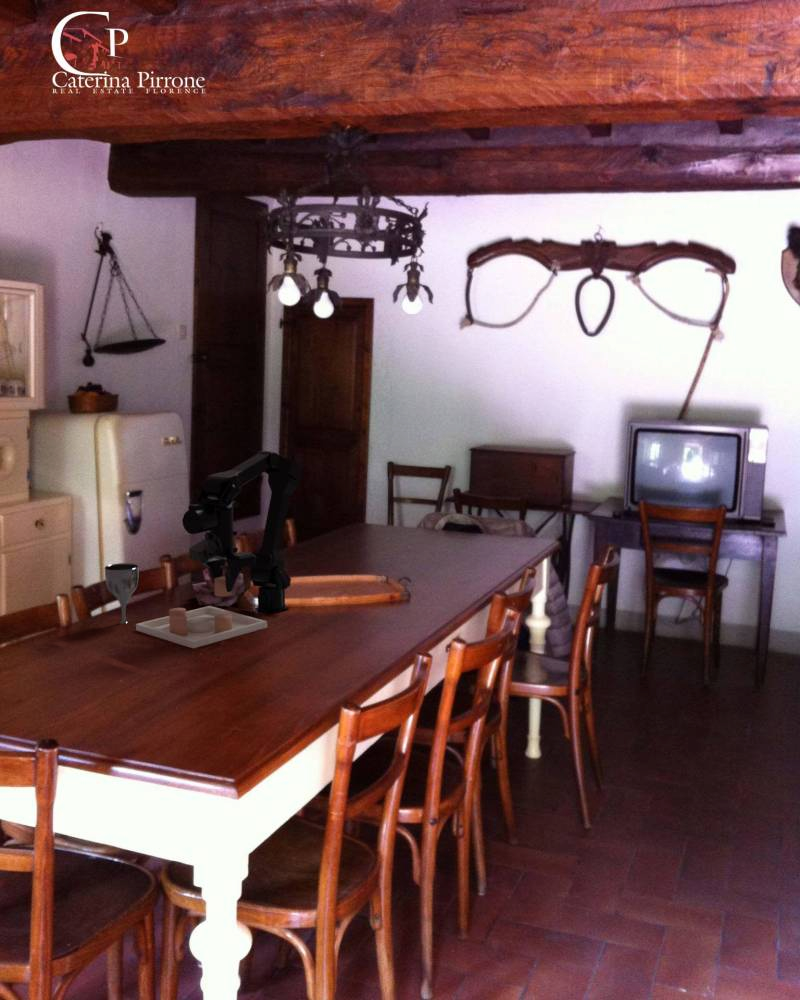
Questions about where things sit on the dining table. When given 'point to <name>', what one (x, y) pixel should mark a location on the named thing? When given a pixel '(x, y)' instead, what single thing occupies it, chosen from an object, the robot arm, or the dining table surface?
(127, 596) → the wine glass
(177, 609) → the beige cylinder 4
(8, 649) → the dining table surface
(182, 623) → the seated bead
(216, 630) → the beige cube
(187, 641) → the groove dish
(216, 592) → the pale tan cube
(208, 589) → the flower
